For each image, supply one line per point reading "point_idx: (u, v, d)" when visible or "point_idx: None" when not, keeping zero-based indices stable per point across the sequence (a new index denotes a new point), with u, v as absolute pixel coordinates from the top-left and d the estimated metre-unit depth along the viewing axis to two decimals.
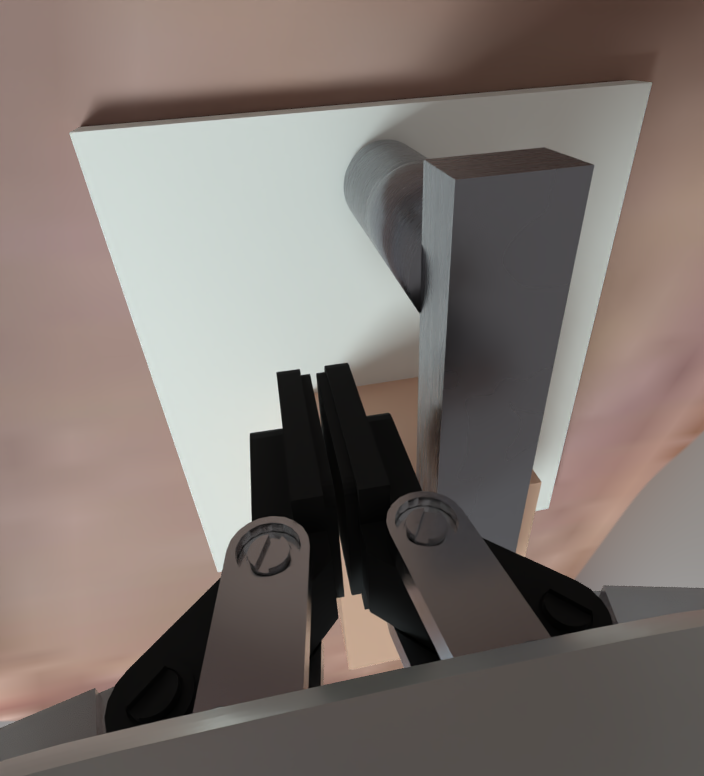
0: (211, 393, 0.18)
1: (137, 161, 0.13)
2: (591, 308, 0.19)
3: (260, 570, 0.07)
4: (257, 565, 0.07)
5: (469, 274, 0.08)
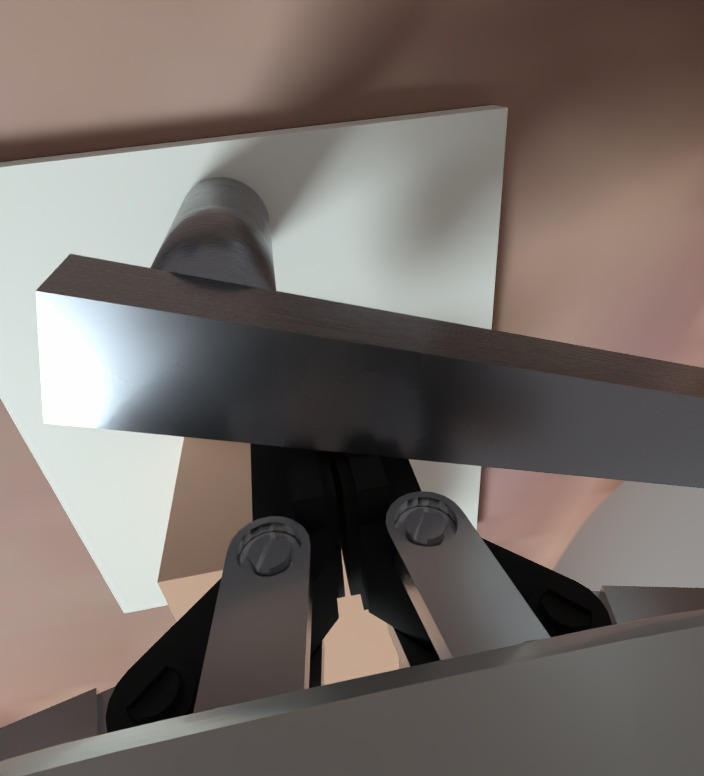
0: (80, 436, 0.17)
1: None
2: None
3: (261, 570, 0.07)
4: (258, 565, 0.07)
5: (148, 416, 0.07)
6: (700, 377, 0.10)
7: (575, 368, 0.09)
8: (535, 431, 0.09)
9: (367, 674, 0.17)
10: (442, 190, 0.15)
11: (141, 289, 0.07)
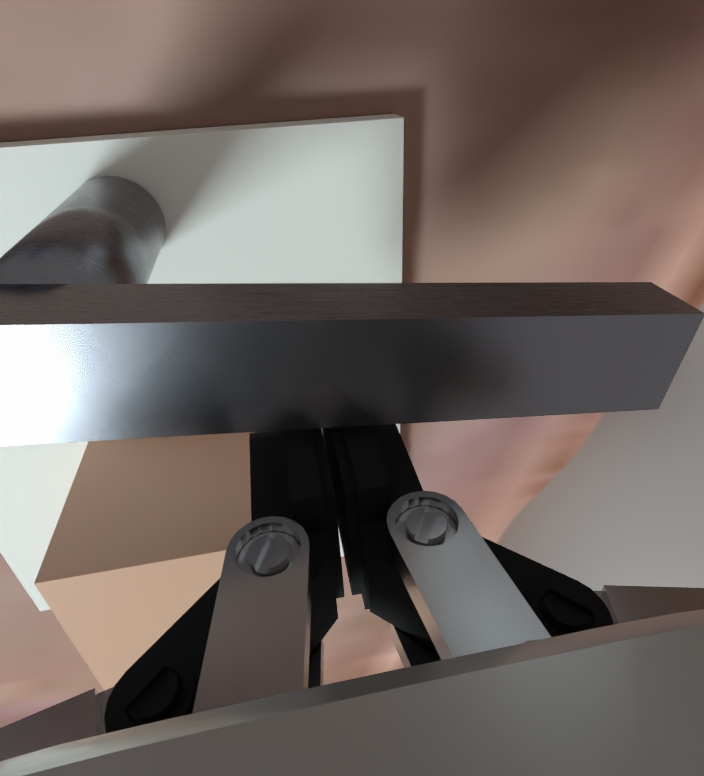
0: None
1: None
2: None
3: (260, 570, 0.07)
4: (257, 565, 0.07)
5: None
6: (583, 293, 0.09)
7: (418, 308, 0.08)
8: (391, 381, 0.08)
9: None
10: (342, 196, 0.15)
11: None
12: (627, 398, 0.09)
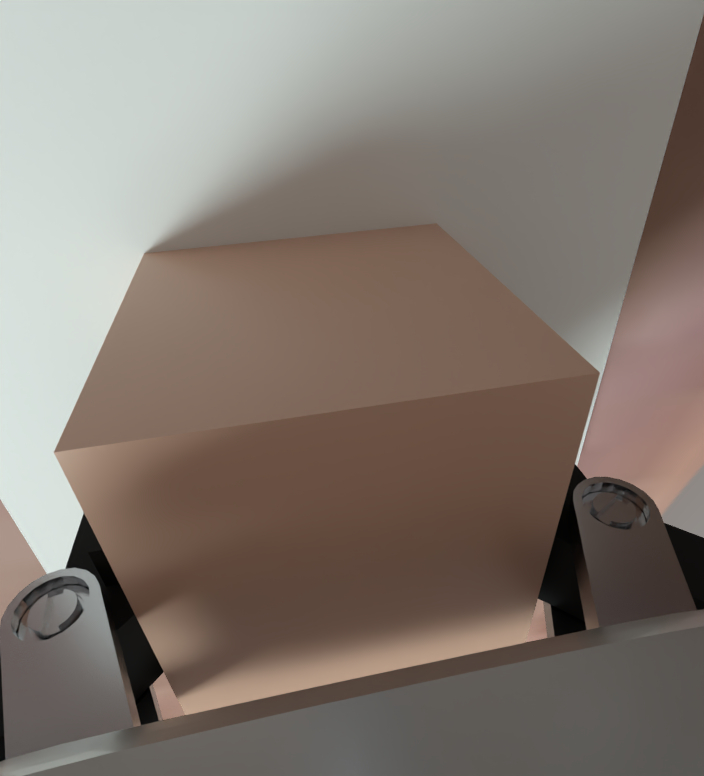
0: None
1: None
2: (667, 108, 0.10)
3: (49, 633, 0.07)
4: (43, 629, 0.07)
5: None
6: None
7: None
8: None
9: None
10: None
11: None
12: None
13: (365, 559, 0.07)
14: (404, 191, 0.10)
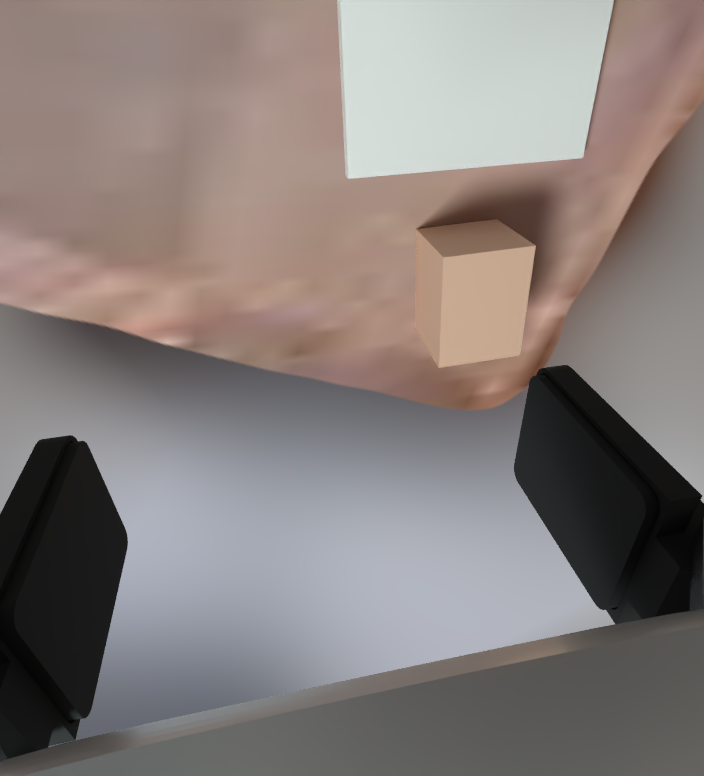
0: None
1: None
2: None
3: None
4: None
5: None
6: None
7: None
8: None
9: (508, 339, 0.35)
10: None
11: None
12: None
13: (488, 290, 0.33)
14: None
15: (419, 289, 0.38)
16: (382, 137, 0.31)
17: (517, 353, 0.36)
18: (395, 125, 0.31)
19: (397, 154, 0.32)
